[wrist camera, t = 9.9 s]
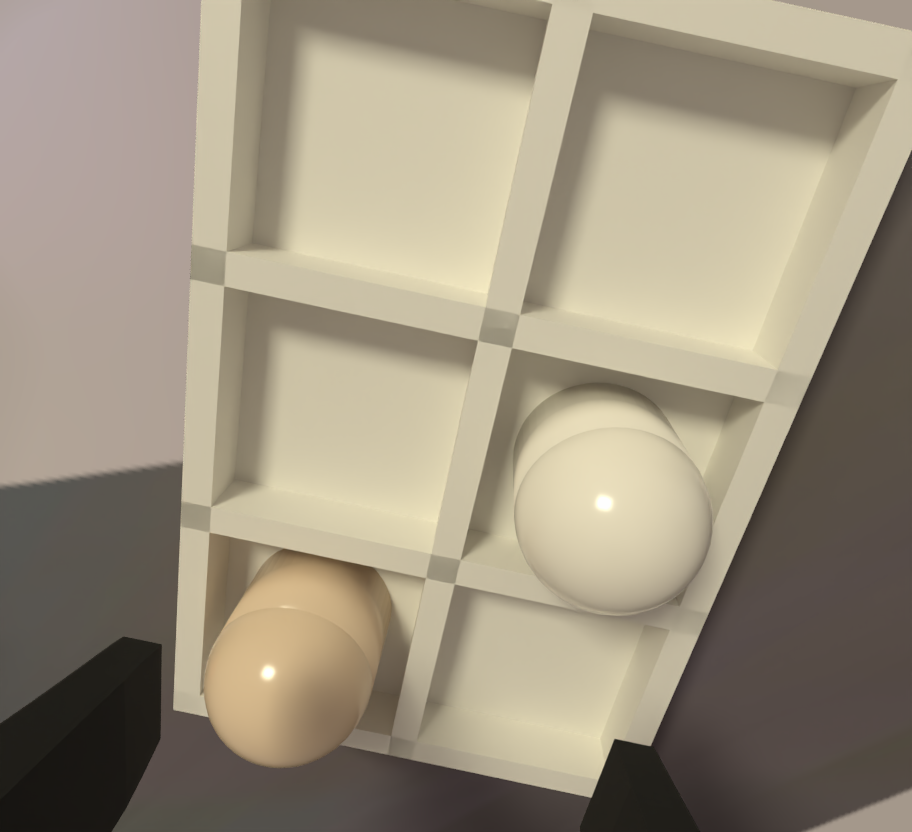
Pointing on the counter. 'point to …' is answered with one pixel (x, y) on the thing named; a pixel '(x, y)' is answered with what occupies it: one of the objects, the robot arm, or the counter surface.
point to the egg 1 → (297, 659)
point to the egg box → (507, 317)
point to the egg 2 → (608, 501)
